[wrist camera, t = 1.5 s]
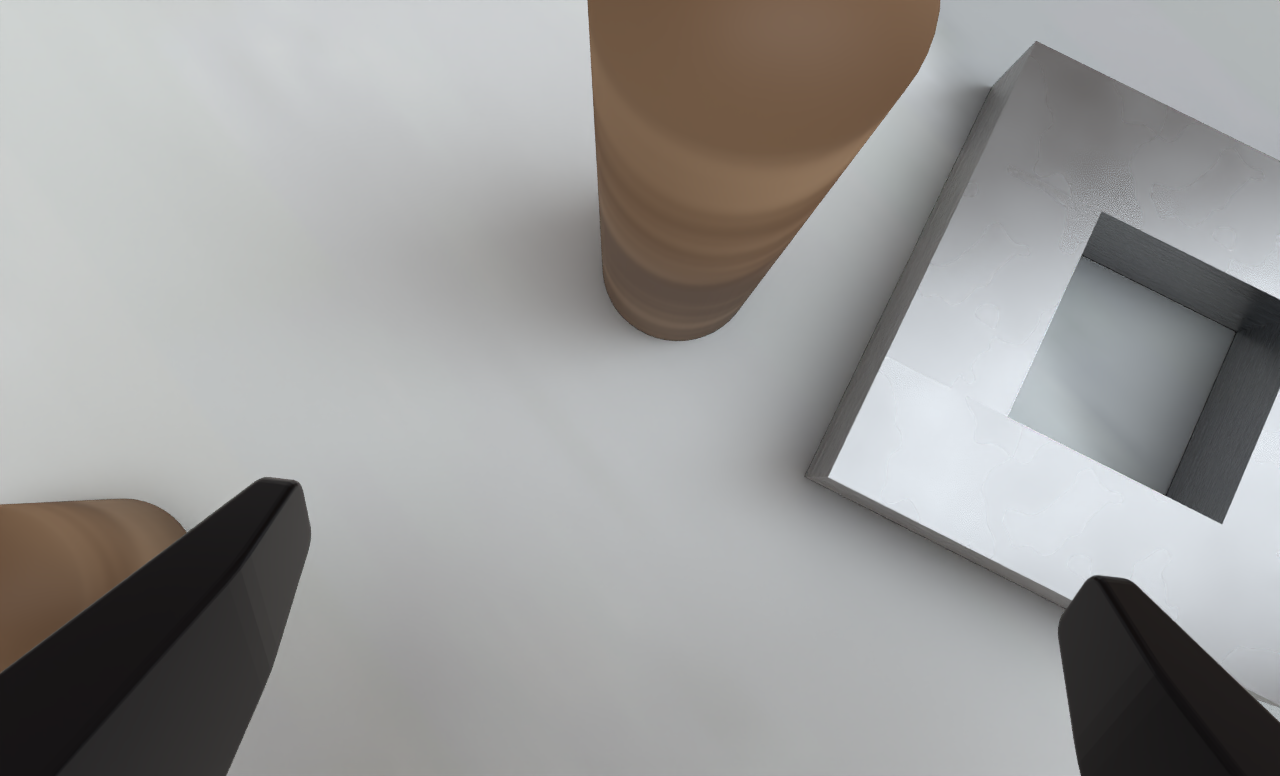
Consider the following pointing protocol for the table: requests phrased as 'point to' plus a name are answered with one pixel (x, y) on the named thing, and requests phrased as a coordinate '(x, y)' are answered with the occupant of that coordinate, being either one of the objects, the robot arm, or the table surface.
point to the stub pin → (69, 561)
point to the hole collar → (1014, 329)
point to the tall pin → (730, 137)
